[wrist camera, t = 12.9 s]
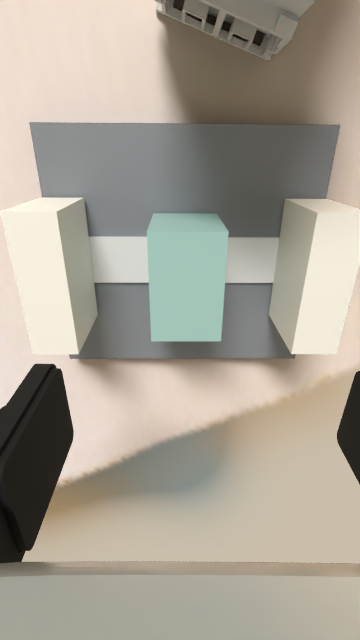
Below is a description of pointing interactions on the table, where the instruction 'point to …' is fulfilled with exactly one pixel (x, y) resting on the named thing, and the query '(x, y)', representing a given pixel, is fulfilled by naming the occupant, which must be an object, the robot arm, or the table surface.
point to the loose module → (186, 276)
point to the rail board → (183, 197)
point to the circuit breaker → (243, 21)
